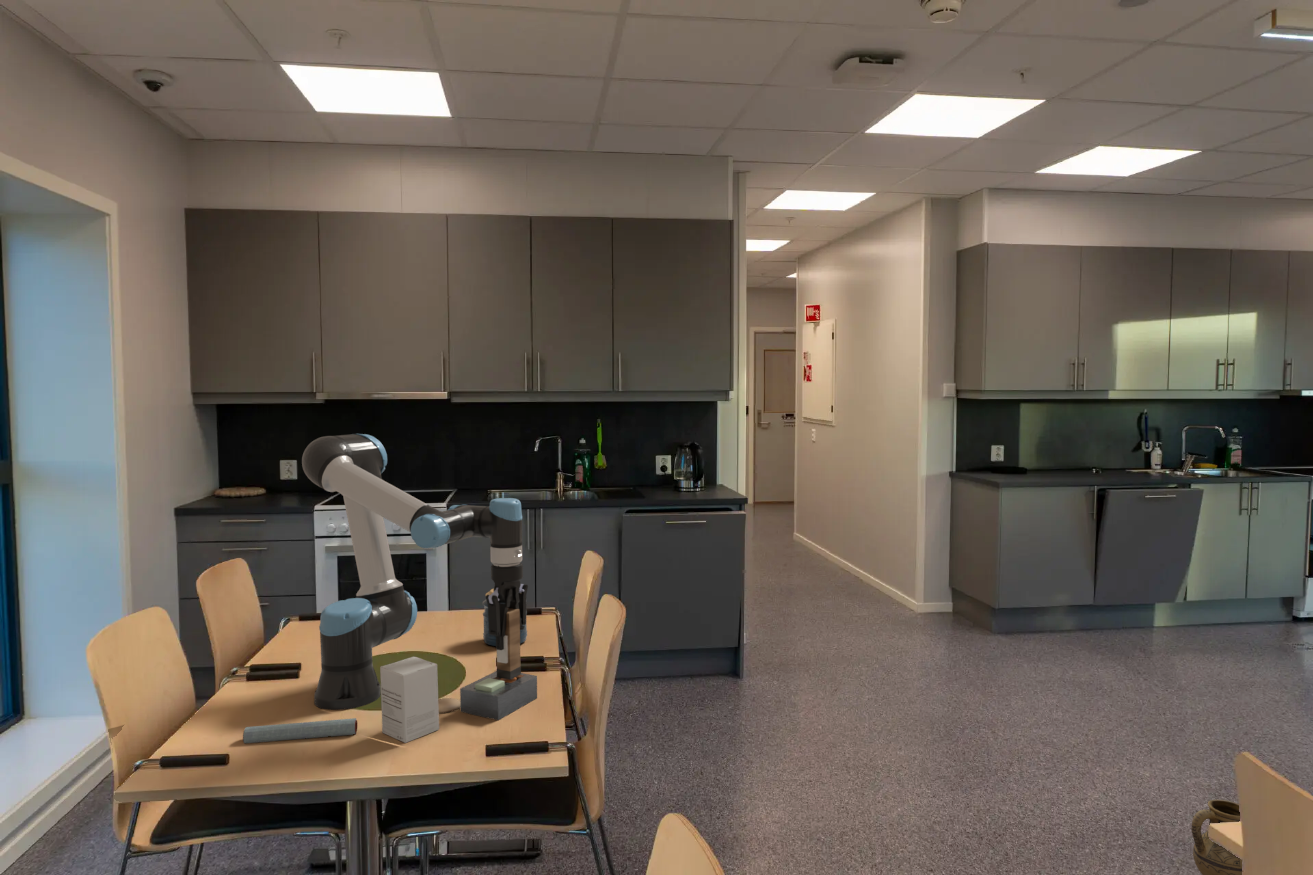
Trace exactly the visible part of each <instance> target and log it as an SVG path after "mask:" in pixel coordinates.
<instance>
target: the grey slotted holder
mask: <svg viewBox="0 0 1313 875" xmlns="http://www.w3.org/2000/svg"><path fill="white" fill-rule="evenodd" d="M487 678H492V679H497V680H500V679H501V678H499V677H497V670H495V671H494V672H492V673H489V674H488V675H485V676H483V677H481V678H478V679H476V680H475V681H473V682H471V683H469V684H467V685H465V686H462V687H460V689H459V693H460V694H459V697H460V698H459V700H460V713H464V714H469V715H474V716H477V717H482V718H487V719H491V720H494V721H495V720H496V721H500V720H502V719H503V718H505V717H507V716H508V715H510V714H512V713H514V712H516V711H517V710H519V709H521V708H522V707H524V706H526V705H528V704H530V703H532V702H533V701H535V700H537V699H538V675H534V674H529V673H523V672H521V675H519V676H517V677H516V678H517V680H516V681H514V682H512V683H508V682H505V686H504V687H502V688H500V689H498V690H496V691H494V692H492V693H491V692H487V691H482V690H477V689H475V684H477V683H479V682H481V681H483V680H485V679H487Z"/></svg>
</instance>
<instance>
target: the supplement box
mask: <svg viewBox="0 0 1313 875" xmlns="http://www.w3.org/2000/svg"><path fill="white" fill-rule="evenodd" d="M379 668H380V670H379V671H380V672H379V673H380V688H381V695H380V698H381V699H380V700H381V701H380V703H381V728H382V729H381V730H382V731H381V732H382V734H384V735H387V736H389V737H391V738H393V739H395V740H397V741H400V742H402V743H405V744H406V743H409V742H411V741H414V740H417V739H418V738H421V737H424V736H427V735H429V734H431V733H433V732H437V731H438V730H440V714H439V707H438V699H439V685H438V681H439V679H438V664H437V663H435V662H433V661H432V662H431V661H429V660H425V659H423V658H421V657H417V656H411V657H408V658H405V659H401V660H398V661H396V662H392V663H389V664H385V665H381V666H380V667H379Z"/></svg>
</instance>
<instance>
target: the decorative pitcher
mask: <svg viewBox="0 0 1313 875" xmlns="http://www.w3.org/2000/svg"><path fill="white" fill-rule="evenodd" d="M1239 805H1240V804H1239V803H1236V802H1234V801H1230V800H1225V799H1211V800H1208V802H1207V806H1208V809H1200V810H1199V811H1197V812H1196V813H1195V814H1194V815H1193V817H1192V820H1191V835H1192V838H1193V841H1194V844H1193V848H1192V856H1193V860H1194V863H1195V865H1196V868H1197V870H1198V871H1199V873H1200V874H1201V875H1242V860H1241V859H1240V858H1238V857H1236V856H1235V855H1233V854H1232V853H1230V852H1229V851H1227V850H1226V849H1225V848H1223V847H1222V846H1219V845H1218V844H1216V843H1214V842H1212V841H1211V840H1210V839H1209V837H1208V830H1207V831H1206V832H1204V833H1202V826H1203V824H1204V822H1205V821H1207V820H1209V821H1208V826H1209V825H1210V823H1220V822H1239V821H1240V812H1239Z"/></svg>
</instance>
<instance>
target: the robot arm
mask: <svg viewBox="0 0 1313 875" xmlns="http://www.w3.org/2000/svg"><path fill="white" fill-rule="evenodd" d="M301 464H302V465H301V466H302V470H303V472H304V474H305V476H306V477H307V479H309V480H310V482H311V483H313V484H314V485H316V486H318V487H319V488H321V489H323V490H324V491H326V492H330V493H334V492H337V493H339V494H341V496H343V502H344V506H345V512H346V516H347V517H346V518H347V522H348V528H349V532H350V539H351V543H352V547H353V552H354V558H355V562H356V563H355V564H356V568H357V573H358V574H357V575H358V579H359V584H360V587H359V590H357V593H355V596H356V597H355V598H354V597H351V598H346V599H344V600H343V599H342V600H341V599H340V600H337V601H334V602H332V603H330V604H328V605H327V606H326V607H325V608H323V610H322V611H321V614H320V620H319V626H318V627H319V629H318V630H319V638H320V639H319V640H320V661H321V663H320V666H321V671H320V674H319V678H318V679H319V680H318V683H317V687H316V689H315V691H314V693H313V694H314V698H313V699H314V706H316V707H318V708H319V709H321V710H323V709H324V710H329V711H330V710H331V711H339V710H342V711H343V710H350V709H351V710H352V709H356V708H360V707H364V706H367V705H369V704H372V703H374V702H375V701H377V700H378V699H380V698H381V682H380V681H379V679H378V676H377V673H376V670H375V668H374V665H373V648H376V647H378V646H380V645H383V644H384V643H387V642H389V641H392V640H397V639H399V638H400V637H402V636H403V635H406V634H407V633H408V632H410V631H411V630H412V629H413V627H414V625H415V623H416V621H417V617H418V605H417V603H416V600H415V597H413V596H412V595H411V594H410V592H408V591H407V590H405V589H404V586H403V585H404V584H403V583H402V582H401V581H399V580H398V579H397V578H396V575H395V570H394V565H393V560H392V555H391V551H390V550H391V549H390V546H389V540H388V536H387V535H388V534H387V529H386V524H385V520H384V519H386V520H387V521H389V522H391V523H393V524H395V525H396V526H399V527H400V528H402V529H404V530H405V531H407V532H409V533H410V537H411V539H412V540H413V542H414V543H415V545H416V546H417V547H420V548H423V549H432V548H433V549H435V548H439V547H441V546H445V545H448V544H451V543H454V542H457V541H462V540H465V539H469V538H485V539H486V538H489V539H490V540H489V541H490V545H489V546H490V549H489V550H490V563H491V565H490V579H491V580H492V581H493V583H494V585H493V589H494V592H493V593H492V594H491V595H486V594H485V595H486V596H485V600H487V604H488V620H489V634H490V635H494V636H495V637H496V646H495V649H496V663H497V662H501V663H508V636H506V635H505V631H506V622H507V612H508V608H511V609H520V630H523V629H524V626H522V625H525V624H526V625H527V614H526V610H527V602H526V600H527V593H528V587H529V586H528V584H526V583H521V580H522V579H523V578H524V564H523V563H522V561H523V514H522V503H521V501H520V500H519V499H518V498H513V497H508V498H507V497H500V498H499V497H498V498H493V499H491V500H490V502H489V506H485V505H468V504H453V505H451V506H450V507H449V508H448V509H447V510H443V511H442V510H439V509H437V508H435V507H434V506H431V505H429V504H428V503H425V502H424V501H422V500H420V499H418V498H416V497H415V496H412V495H411V494H410V493H408V492H405V491H404V490H402V489H400V488H398V487H396V486H395V485H393V484H391V483H389V482H387V481H385V480H384V479H383V478H382V474H383V472H385V470H386V467H387V464H388V454H387V451H386V448H385V447H384V445H383V444H382V442H381V441H380V440H379V439H377V438H376V437H375V436H373V435H370V434H366V433H364V434H363V433H352V434H341V435H325V436H321V437H318V438H316V439H314V440H313V441H311V442H310V443H308V445H307V446H306V448H305V449H304V451H303V454H302V457H301ZM504 603H505V604H504ZM521 619H522V620H521ZM500 630H501V631H500Z"/></svg>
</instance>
